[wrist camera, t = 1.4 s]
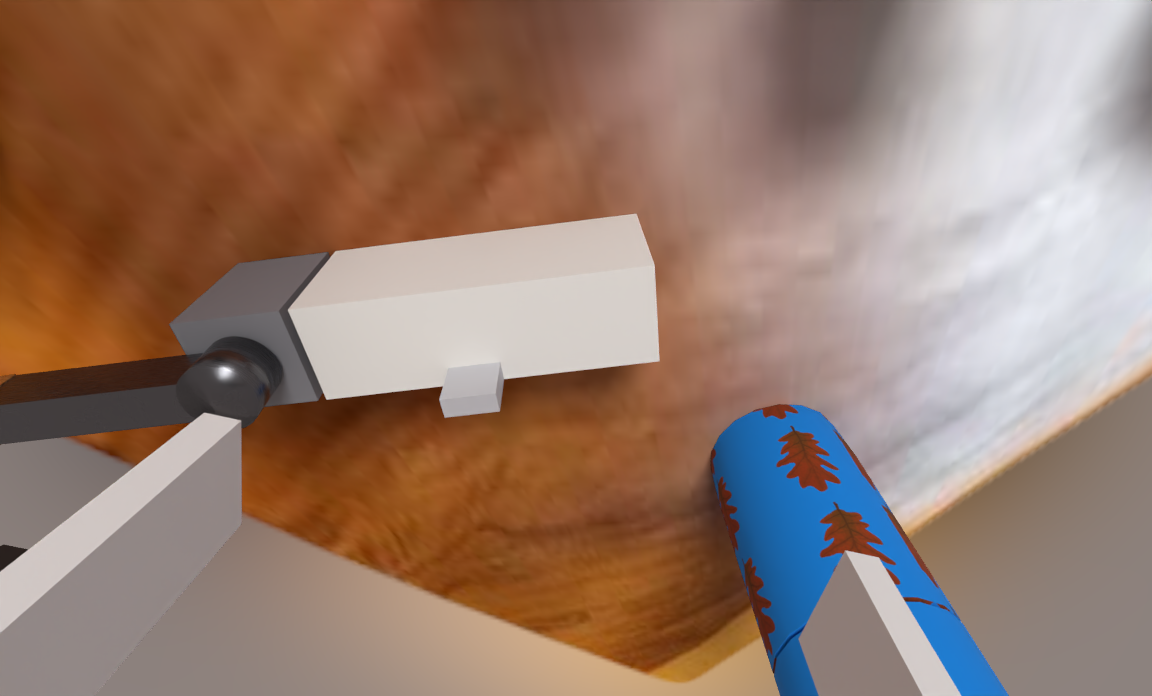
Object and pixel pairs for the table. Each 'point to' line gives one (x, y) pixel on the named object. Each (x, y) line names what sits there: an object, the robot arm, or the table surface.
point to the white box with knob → (441, 312)
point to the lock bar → (140, 393)
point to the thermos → (821, 540)
